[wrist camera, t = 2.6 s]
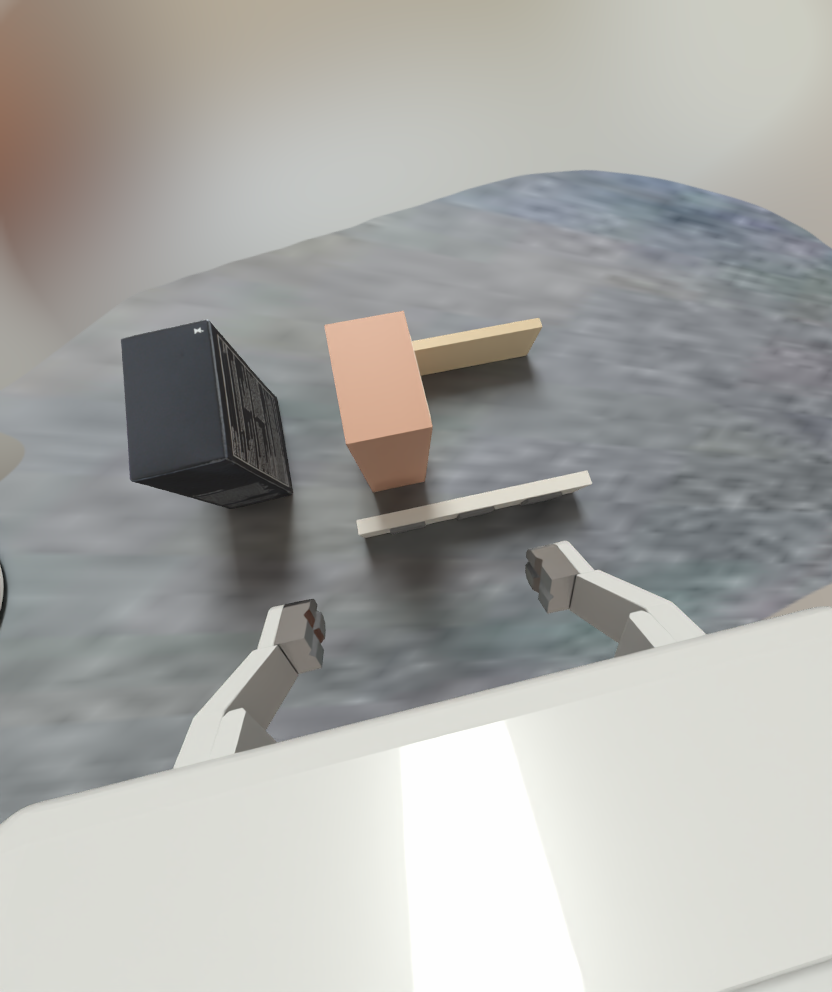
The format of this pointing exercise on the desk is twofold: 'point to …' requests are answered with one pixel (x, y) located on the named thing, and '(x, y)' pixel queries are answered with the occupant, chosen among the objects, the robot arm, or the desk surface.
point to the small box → (201, 419)
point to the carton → (381, 399)
